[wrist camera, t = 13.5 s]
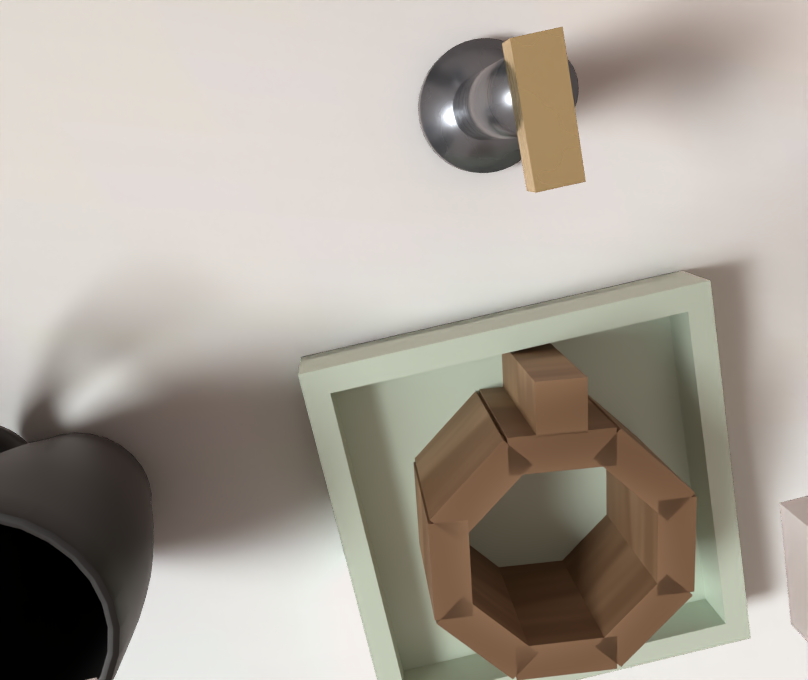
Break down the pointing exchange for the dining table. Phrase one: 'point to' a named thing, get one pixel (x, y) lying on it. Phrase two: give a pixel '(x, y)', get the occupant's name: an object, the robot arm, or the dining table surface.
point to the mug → (70, 555)
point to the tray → (533, 493)
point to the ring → (587, 563)
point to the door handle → (506, 108)
